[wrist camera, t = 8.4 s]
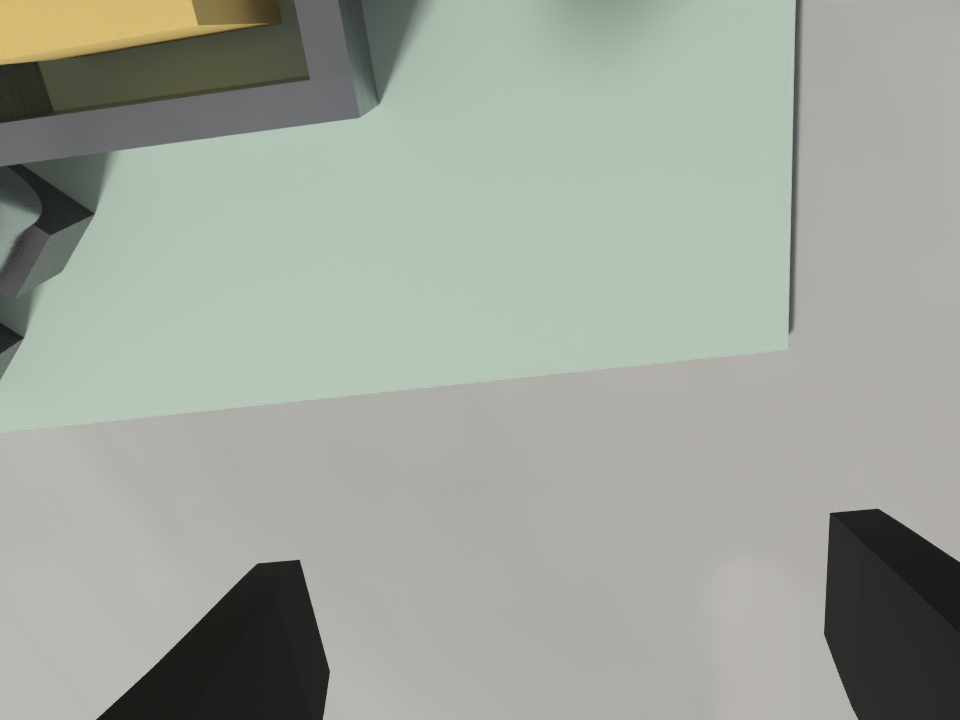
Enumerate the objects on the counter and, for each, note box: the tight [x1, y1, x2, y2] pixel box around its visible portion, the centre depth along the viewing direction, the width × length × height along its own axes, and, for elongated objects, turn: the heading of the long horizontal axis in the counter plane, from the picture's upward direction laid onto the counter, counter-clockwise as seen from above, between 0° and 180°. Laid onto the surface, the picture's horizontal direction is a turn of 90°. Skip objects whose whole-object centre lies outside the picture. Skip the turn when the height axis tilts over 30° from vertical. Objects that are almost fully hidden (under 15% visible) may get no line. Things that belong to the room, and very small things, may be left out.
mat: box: [0, 0, 796, 433], centre depth 17 cm, size 22×16×1 cm
